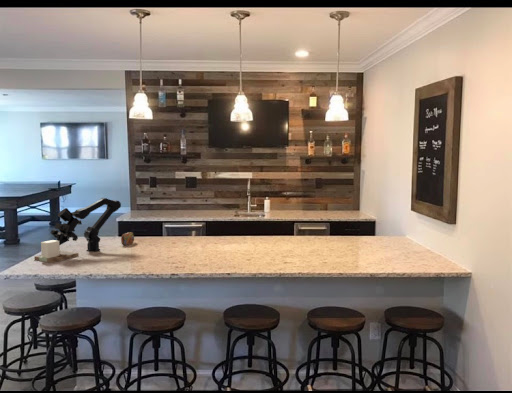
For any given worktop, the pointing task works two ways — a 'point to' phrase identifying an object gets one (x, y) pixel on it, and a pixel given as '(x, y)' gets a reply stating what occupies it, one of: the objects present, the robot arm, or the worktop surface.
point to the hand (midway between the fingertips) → (56, 246)
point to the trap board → (62, 256)
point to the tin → (127, 238)
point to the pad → (43, 259)
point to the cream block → (50, 248)
